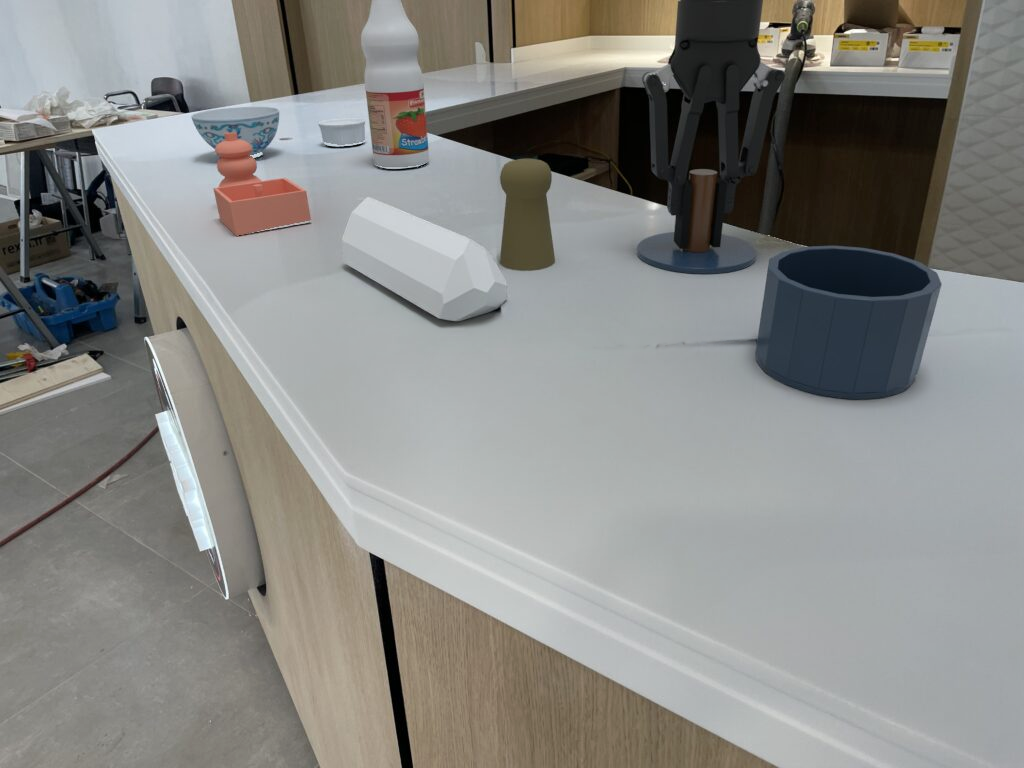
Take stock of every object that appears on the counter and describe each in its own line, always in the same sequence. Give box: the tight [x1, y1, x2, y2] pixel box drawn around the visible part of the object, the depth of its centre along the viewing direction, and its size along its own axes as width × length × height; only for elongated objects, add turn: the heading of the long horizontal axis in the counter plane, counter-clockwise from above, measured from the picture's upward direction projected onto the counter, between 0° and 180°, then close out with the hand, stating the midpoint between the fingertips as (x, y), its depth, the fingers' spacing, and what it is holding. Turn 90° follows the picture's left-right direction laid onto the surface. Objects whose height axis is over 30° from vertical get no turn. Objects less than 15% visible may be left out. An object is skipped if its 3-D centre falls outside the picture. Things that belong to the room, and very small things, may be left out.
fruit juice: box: [360, 0, 430, 167], centre depth 118 cm, size 9×9×28 cm
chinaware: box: [190, 106, 280, 155], centre depth 133 cm, size 15×15×8 cm
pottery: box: [213, 132, 312, 237], centre depth 97 cm, size 18×10×10 cm, turn 32°
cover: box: [636, 168, 758, 275], centre depth 76 cm, size 12×12×9 cm
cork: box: [499, 158, 556, 272], centre depth 75 cm, size 6×6×11 cm
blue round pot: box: [755, 245, 942, 400], centre depth 55 cm, size 11×11×8 cm
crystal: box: [341, 196, 509, 322], centre depth 72 cm, size 7×7×24 cm
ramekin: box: [317, 117, 366, 145], centre depth 142 cm, size 9×9×4 cm
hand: (696, 243), depth 77 cm, fingers closed on cover, 3 cm apart
